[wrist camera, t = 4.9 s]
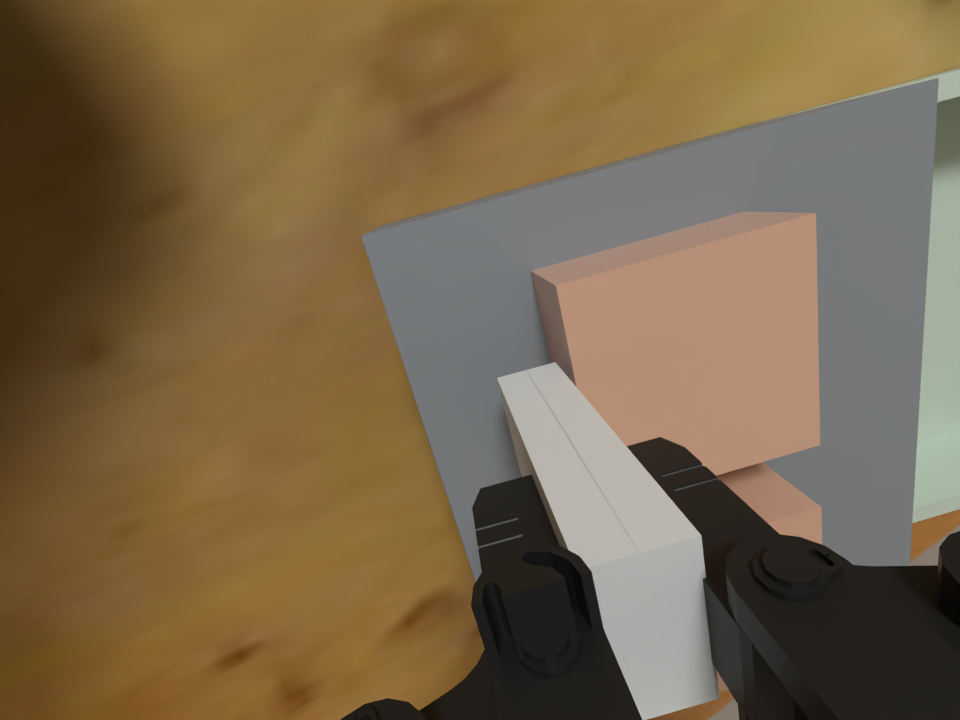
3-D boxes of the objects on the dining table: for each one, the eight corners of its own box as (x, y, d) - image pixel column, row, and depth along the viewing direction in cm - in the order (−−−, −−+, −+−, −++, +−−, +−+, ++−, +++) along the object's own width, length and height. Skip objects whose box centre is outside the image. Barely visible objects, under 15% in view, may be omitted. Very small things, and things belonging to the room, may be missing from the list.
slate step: (383, 225, 19) (360, 236, 12) (758, 122, 19) (938, 78, 12) (493, 577, 24) (520, 715, 18) (778, 492, 25) (907, 596, 18)
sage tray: (758, 122, 19) (842, 101, 15) (1026, 49, 19) (1174, 10, 15) (778, 492, 25) (842, 544, 21) (983, 431, 25) (1083, 471, 21)
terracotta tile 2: (584, 512, 15) (613, 568, 13) (760, 461, 15) (821, 506, 13) (613, 646, 17) (643, 716, 15) (769, 598, 17) (824, 660, 15)
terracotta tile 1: (530, 270, 13) (555, 285, 10) (743, 211, 13) (816, 212, 10) (572, 460, 15) (601, 509, 12) (756, 406, 15) (820, 445, 12)
